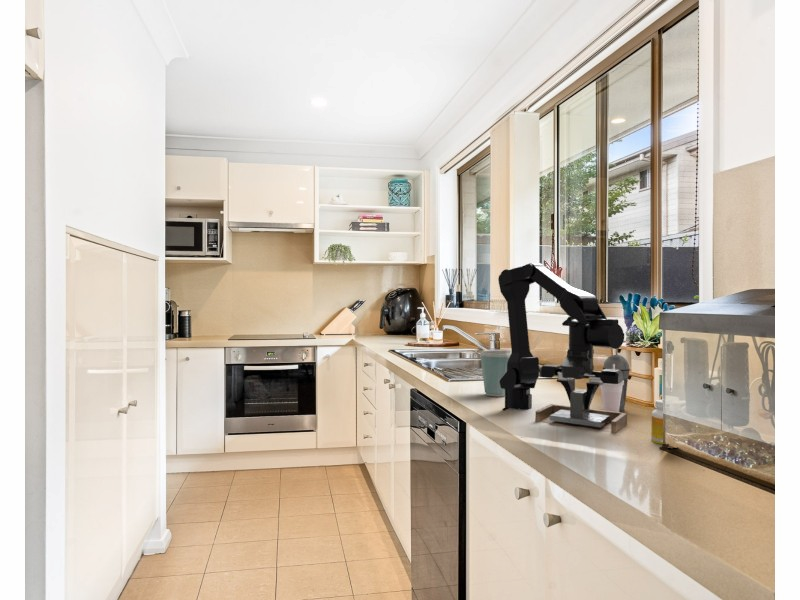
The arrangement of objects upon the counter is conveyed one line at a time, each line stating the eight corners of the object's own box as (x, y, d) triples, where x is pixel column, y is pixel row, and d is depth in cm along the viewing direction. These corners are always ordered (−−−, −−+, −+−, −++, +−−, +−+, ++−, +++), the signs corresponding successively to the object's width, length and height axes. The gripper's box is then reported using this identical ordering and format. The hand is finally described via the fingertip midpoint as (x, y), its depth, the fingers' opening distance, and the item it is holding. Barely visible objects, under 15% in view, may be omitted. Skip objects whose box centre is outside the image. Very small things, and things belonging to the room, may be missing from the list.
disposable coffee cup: (473, 395, 177) (474, 348, 176) (487, 391, 186) (487, 346, 186) (505, 399, 171) (506, 351, 171) (517, 394, 180) (518, 348, 180)
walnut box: (535, 425, 137) (535, 411, 136) (550, 417, 146) (551, 404, 146) (615, 437, 126) (615, 421, 126) (626, 427, 135) (626, 413, 135)
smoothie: (625, 419, 145) (626, 365, 145) (600, 417, 146) (600, 364, 146) (621, 414, 151) (621, 363, 151) (596, 412, 153) (597, 362, 152)
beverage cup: (601, 410, 156) (602, 339, 155) (602, 405, 162) (603, 338, 162) (629, 412, 153) (630, 340, 153) (629, 408, 160) (630, 339, 159)
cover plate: (549, 420, 135) (550, 390, 135) (561, 414, 142) (561, 386, 142) (600, 427, 128) (600, 396, 128) (609, 420, 135) (610, 391, 135)
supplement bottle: (667, 451, 115) (668, 404, 115) (645, 444, 120) (646, 400, 120) (684, 448, 117) (685, 402, 117) (662, 441, 122) (662, 398, 122)
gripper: (532, 345, 134) (531, 409, 134) (612, 350, 123) (611, 420, 123) (547, 342, 143) (546, 402, 143) (624, 346, 132) (622, 411, 132)
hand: (579, 408), depth 135 cm, fingers closed on cover plate, 3 cm apart
